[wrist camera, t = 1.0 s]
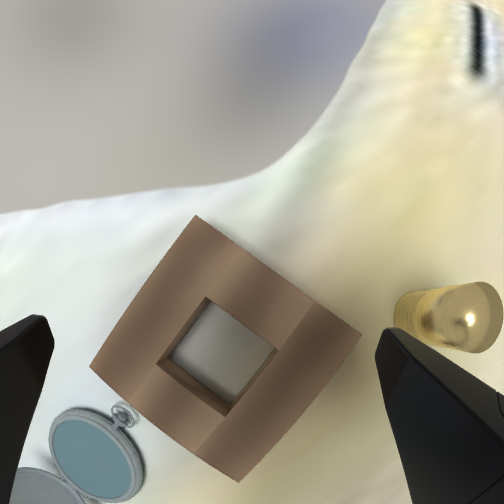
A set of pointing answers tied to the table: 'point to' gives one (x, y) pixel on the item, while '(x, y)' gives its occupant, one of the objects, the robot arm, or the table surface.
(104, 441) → the pocket watch
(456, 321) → the gold cylinder
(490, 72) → the table surface
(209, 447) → the jig block
